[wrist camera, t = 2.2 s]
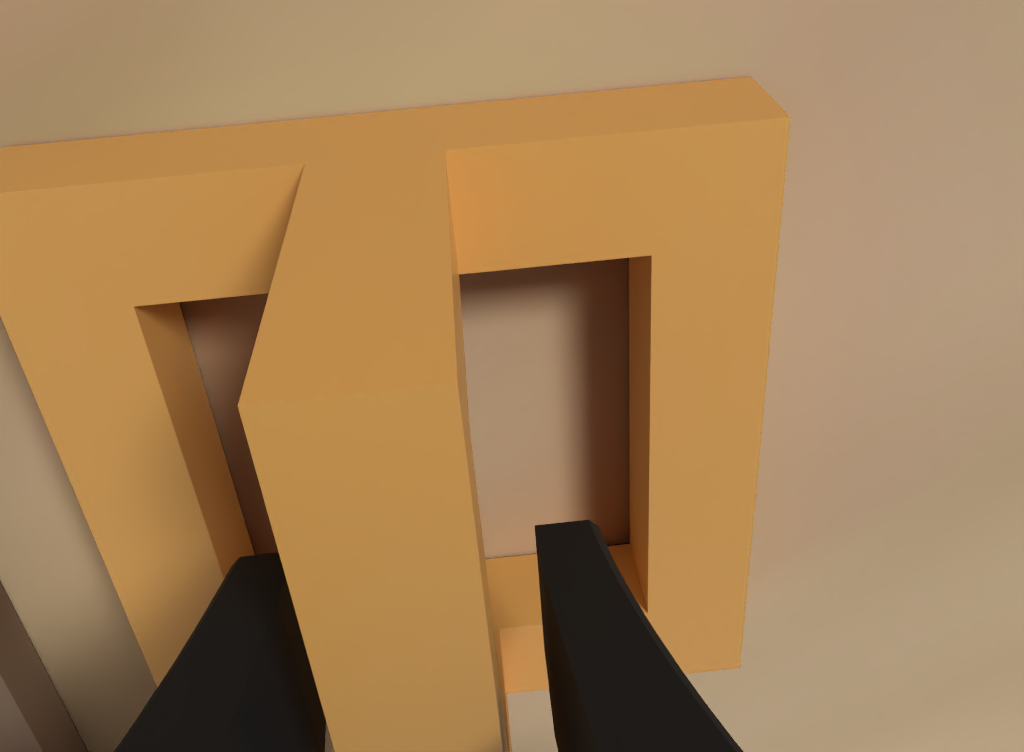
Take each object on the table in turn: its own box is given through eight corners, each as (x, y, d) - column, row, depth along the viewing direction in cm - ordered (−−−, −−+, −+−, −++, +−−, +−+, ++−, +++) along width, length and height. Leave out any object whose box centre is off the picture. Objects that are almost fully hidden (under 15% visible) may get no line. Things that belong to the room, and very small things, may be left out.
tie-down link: (716, 598, 17) (841, 965, 12) (193, 654, 16) (94, 1054, 11) (750, 76, 12) (996, 329, 7) (1, 147, 11) (-324, 462, 6)
